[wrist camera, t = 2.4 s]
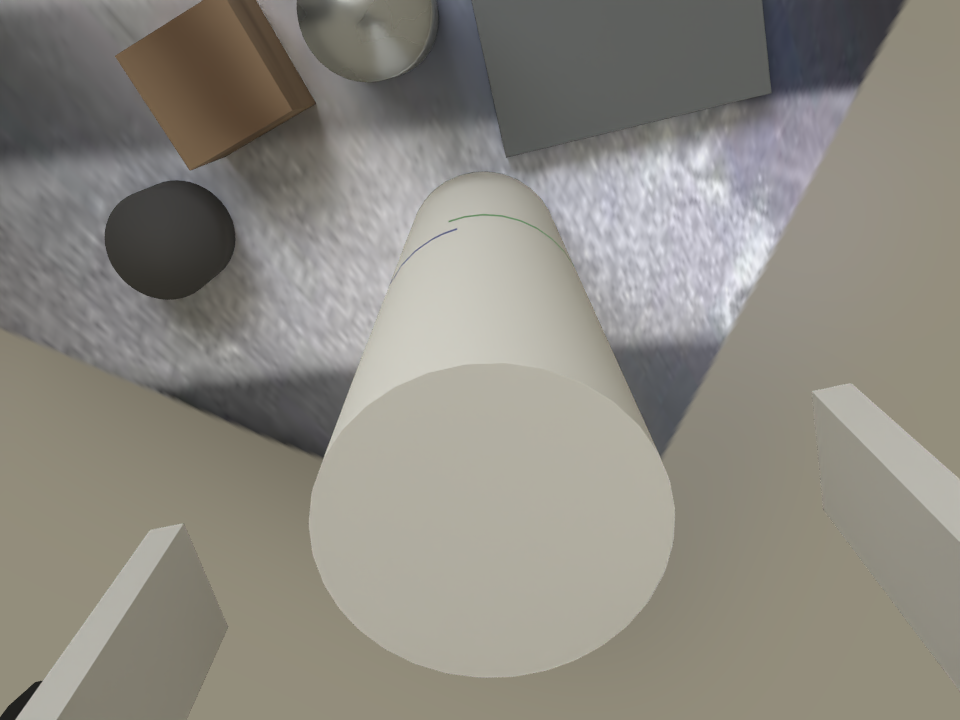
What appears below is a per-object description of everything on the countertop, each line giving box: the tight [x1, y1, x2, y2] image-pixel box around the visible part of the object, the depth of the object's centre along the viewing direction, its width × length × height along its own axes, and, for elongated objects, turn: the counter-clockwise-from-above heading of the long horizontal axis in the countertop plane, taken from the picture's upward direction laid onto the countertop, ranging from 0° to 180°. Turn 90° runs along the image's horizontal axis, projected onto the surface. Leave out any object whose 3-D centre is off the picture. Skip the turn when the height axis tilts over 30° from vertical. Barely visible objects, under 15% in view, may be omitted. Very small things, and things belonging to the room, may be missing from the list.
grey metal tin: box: [297, 0, 439, 82], centre depth 33 cm, size 5×5×6 cm
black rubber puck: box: [105, 181, 235, 300], centre depth 37 cm, size 5×5×3 cm
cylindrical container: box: [308, 172, 675, 678], centre depth 27 cm, size 7×7×25 cm
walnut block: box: [115, 0, 316, 170], centre depth 34 cm, size 5×5×5 cm
